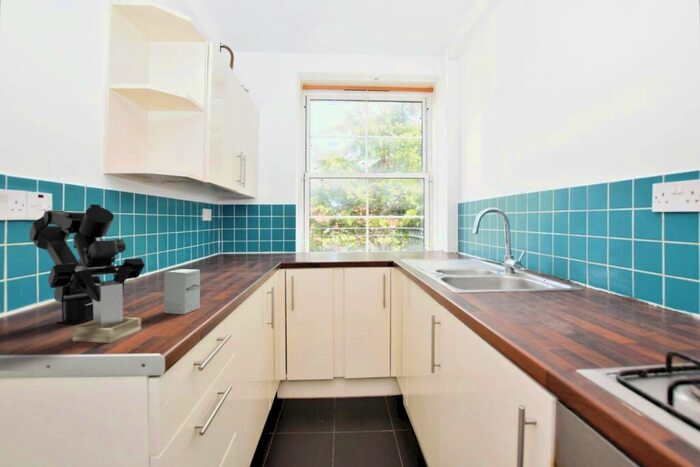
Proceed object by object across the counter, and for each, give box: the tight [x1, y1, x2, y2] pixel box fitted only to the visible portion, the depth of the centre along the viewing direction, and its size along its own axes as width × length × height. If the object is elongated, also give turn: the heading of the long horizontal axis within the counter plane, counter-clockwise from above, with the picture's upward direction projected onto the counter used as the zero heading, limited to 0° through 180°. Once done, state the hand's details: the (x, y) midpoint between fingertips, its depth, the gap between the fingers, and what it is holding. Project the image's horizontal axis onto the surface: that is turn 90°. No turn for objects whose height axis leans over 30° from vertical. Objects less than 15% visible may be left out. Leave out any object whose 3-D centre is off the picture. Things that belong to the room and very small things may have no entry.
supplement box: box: [163, 268, 201, 315], centre depth 103 cm, size 7×7×13 cm
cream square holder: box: [72, 316, 142, 344], centre depth 81 cm, size 10×10×3 cm
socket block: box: [92, 279, 124, 328], centre depth 80 cm, size 4×4×11 cm
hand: (110, 298), depth 80 cm, fingers closed on socket block, 4 cm apart
